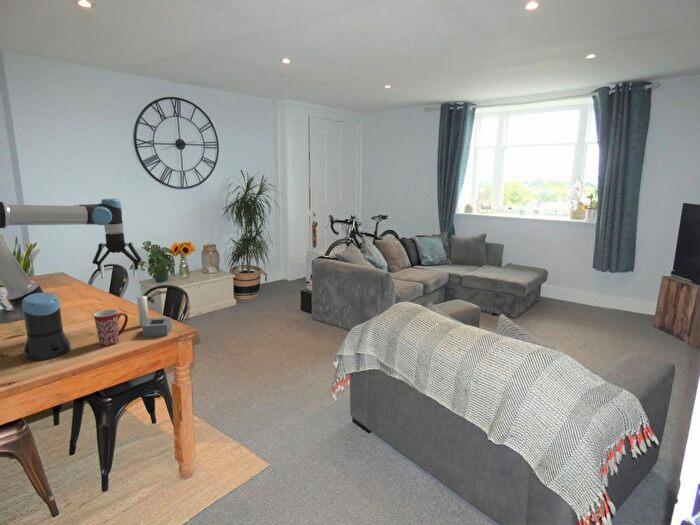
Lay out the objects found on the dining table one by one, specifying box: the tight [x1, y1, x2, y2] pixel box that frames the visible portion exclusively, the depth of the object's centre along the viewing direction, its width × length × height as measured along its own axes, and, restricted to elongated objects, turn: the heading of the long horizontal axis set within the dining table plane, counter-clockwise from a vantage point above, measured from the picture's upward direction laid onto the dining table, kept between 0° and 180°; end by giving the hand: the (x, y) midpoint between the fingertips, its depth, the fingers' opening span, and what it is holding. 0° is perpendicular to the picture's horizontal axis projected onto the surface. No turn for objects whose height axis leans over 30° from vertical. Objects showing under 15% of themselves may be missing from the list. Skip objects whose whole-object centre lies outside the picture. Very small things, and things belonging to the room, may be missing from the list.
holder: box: [141, 317, 173, 338], centre depth 191 cm, size 10×10×5 cm
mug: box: [93, 309, 129, 347], centre depth 179 cm, size 13×9×14 cm
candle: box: [136, 295, 150, 328], centre depth 198 cm, size 4×4×15 cm
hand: (119, 277), depth 198 cm, fingers open, 13 cm apart
